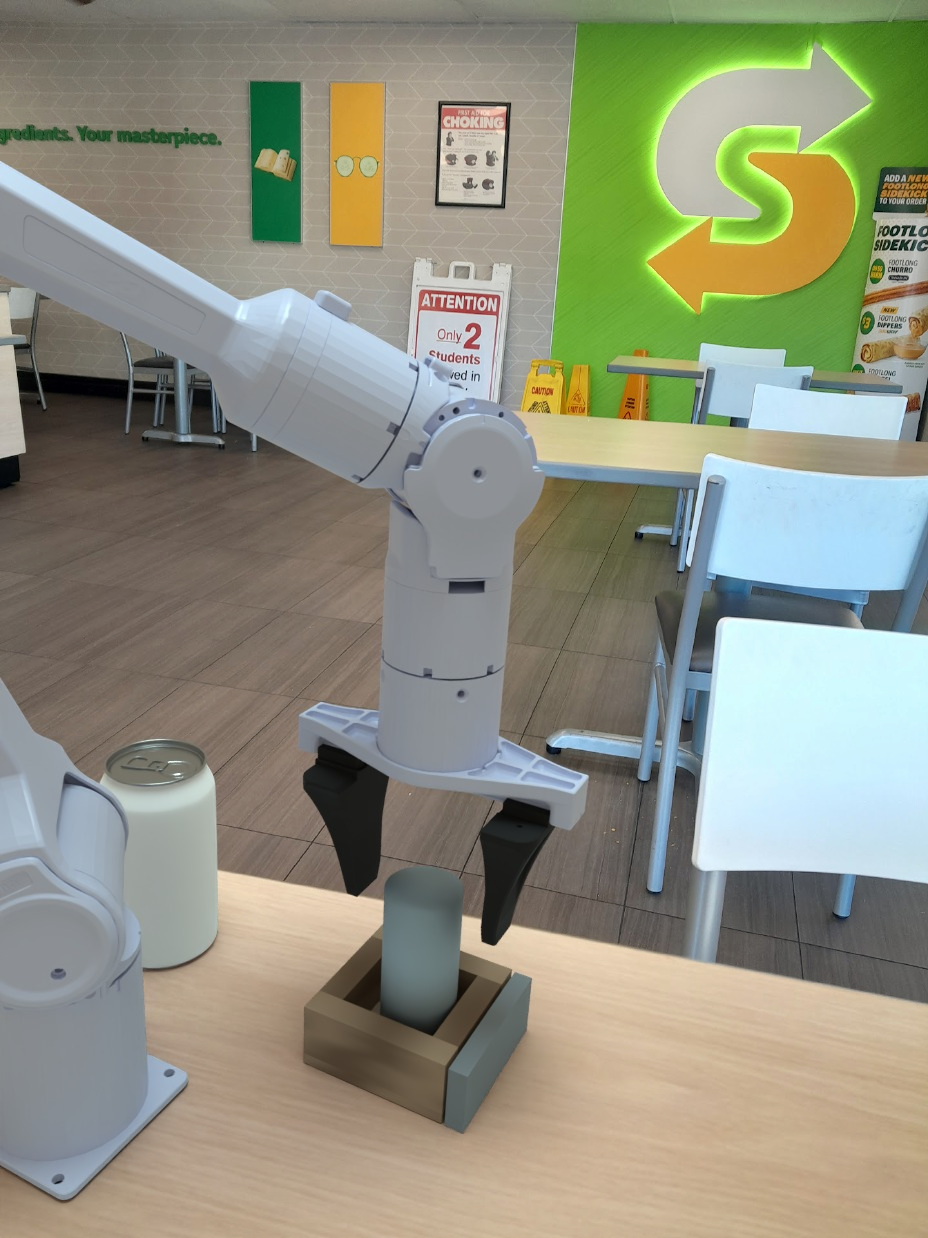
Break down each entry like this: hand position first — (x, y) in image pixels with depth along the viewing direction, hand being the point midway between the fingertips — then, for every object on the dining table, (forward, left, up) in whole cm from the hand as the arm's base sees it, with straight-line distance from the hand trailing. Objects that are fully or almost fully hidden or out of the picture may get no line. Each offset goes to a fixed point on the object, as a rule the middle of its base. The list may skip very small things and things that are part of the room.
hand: (427, 909), depth 50 cm
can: (-18, 0, -9) cm, 20 cm away
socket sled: (-1, 0, -9) cm, 9 cm away
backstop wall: (+4, 0, -9) cm, 10 cm away
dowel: (0, 0, -8) cm, 8 cm away
